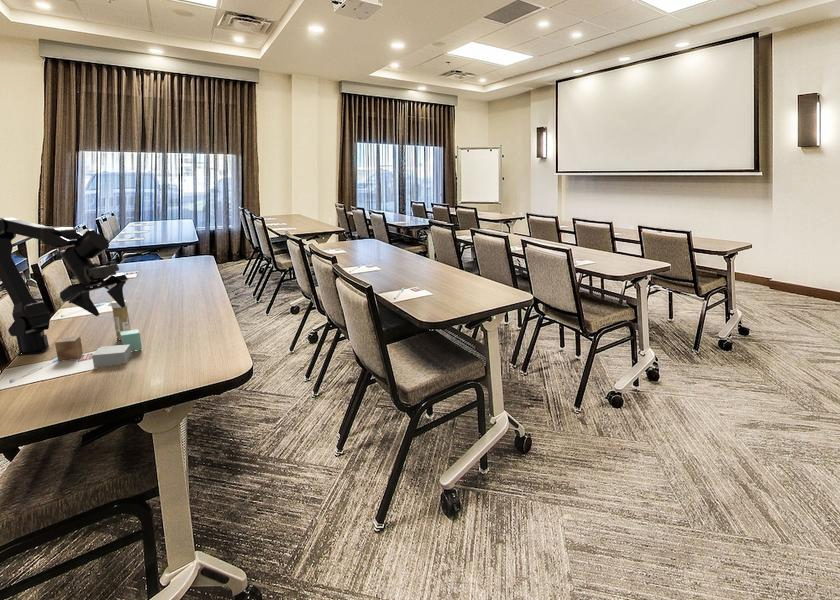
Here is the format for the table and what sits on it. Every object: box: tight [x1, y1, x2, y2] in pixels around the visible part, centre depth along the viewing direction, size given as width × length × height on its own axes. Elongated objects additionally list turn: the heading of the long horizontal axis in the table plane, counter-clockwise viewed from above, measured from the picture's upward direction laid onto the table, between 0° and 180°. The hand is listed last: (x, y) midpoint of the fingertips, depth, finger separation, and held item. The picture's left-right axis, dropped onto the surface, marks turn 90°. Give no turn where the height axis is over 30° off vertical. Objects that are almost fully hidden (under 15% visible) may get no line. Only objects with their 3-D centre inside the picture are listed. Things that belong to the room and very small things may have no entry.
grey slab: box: [91, 344, 133, 368], centre depth 140 cm, size 8×8×4 cm
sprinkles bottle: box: [110, 299, 131, 340], centre depth 160 cm, size 5×5×14 cm
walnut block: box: [54, 335, 84, 362], centre depth 143 cm, size 5×5×6 cm
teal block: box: [120, 328, 143, 351], centre depth 150 cm, size 5×5×6 cm
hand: (111, 311), depth 141 cm, fingers open, 9 cm apart
